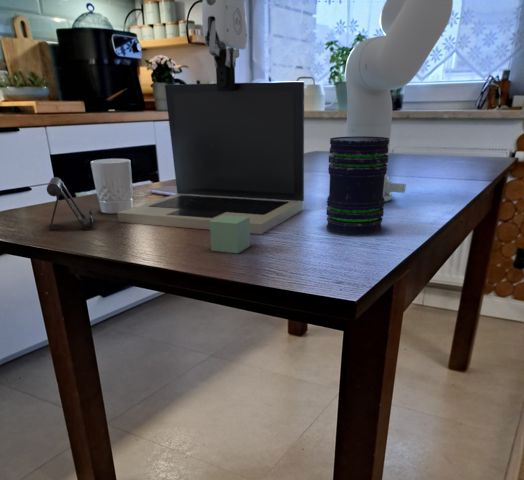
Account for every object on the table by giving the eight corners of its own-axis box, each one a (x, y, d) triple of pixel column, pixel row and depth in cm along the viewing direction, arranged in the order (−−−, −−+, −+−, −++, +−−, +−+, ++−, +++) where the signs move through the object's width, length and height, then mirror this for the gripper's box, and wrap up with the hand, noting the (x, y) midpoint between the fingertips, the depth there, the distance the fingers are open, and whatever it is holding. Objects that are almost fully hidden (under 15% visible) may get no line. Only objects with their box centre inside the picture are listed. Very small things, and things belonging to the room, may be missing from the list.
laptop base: (261, 234, 89) (261, 223, 88) (118, 221, 100) (117, 211, 99) (302, 210, 107) (302, 200, 106) (177, 201, 118) (176, 193, 117)
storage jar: (319, 233, 89) (322, 140, 82) (332, 221, 97) (336, 136, 91) (377, 237, 86) (385, 141, 79) (385, 224, 94) (394, 136, 88)
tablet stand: (94, 229, 94) (86, 181, 90) (48, 233, 92) (38, 184, 88) (93, 219, 102) (86, 175, 98) (51, 222, 100) (42, 177, 96)
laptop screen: (302, 81, 96) (304, 81, 96) (164, 84, 106) (166, 84, 107) (302, 201, 106) (303, 200, 107) (177, 193, 117) (179, 192, 118)
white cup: (95, 209, 111) (88, 160, 107) (132, 205, 114) (126, 157, 110) (100, 215, 105) (92, 164, 100) (139, 212, 108) (133, 161, 103)
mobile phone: (170, 184, 133) (211, 190, 125) (170, 188, 134) (211, 194, 125) (147, 188, 128) (188, 194, 120) (147, 192, 129) (188, 199, 120)
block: (250, 246, 82) (249, 217, 80) (238, 253, 79) (237, 223, 77) (224, 243, 84) (223, 215, 82) (211, 250, 80) (209, 221, 78)
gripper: (222, -35, 85) (226, 90, 93) (257, -18, 97) (258, 91, 105) (183, -31, 87) (190, 91, 95) (222, -15, 100) (225, 91, 108)
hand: (226, 90), depth 100 cm, fingers closed
